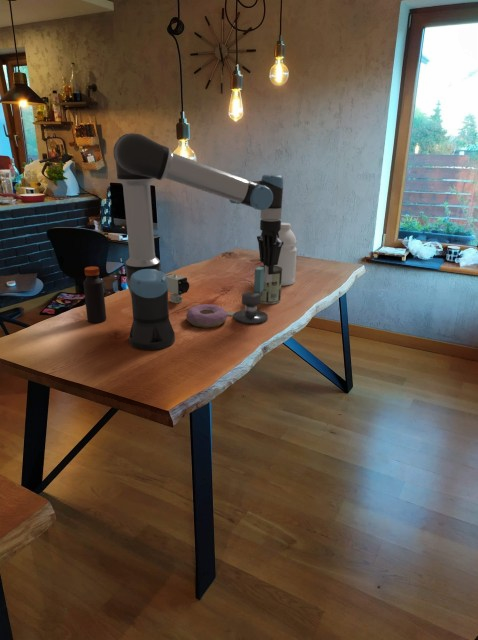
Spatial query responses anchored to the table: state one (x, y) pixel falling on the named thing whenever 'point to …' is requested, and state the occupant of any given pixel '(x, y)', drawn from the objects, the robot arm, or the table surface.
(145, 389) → the table surface
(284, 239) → the bottle
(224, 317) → the donut
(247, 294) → the teal grey l-shaped block
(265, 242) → the robot arm
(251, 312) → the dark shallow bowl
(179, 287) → the security camera
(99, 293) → the bottle
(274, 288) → the coffee can
